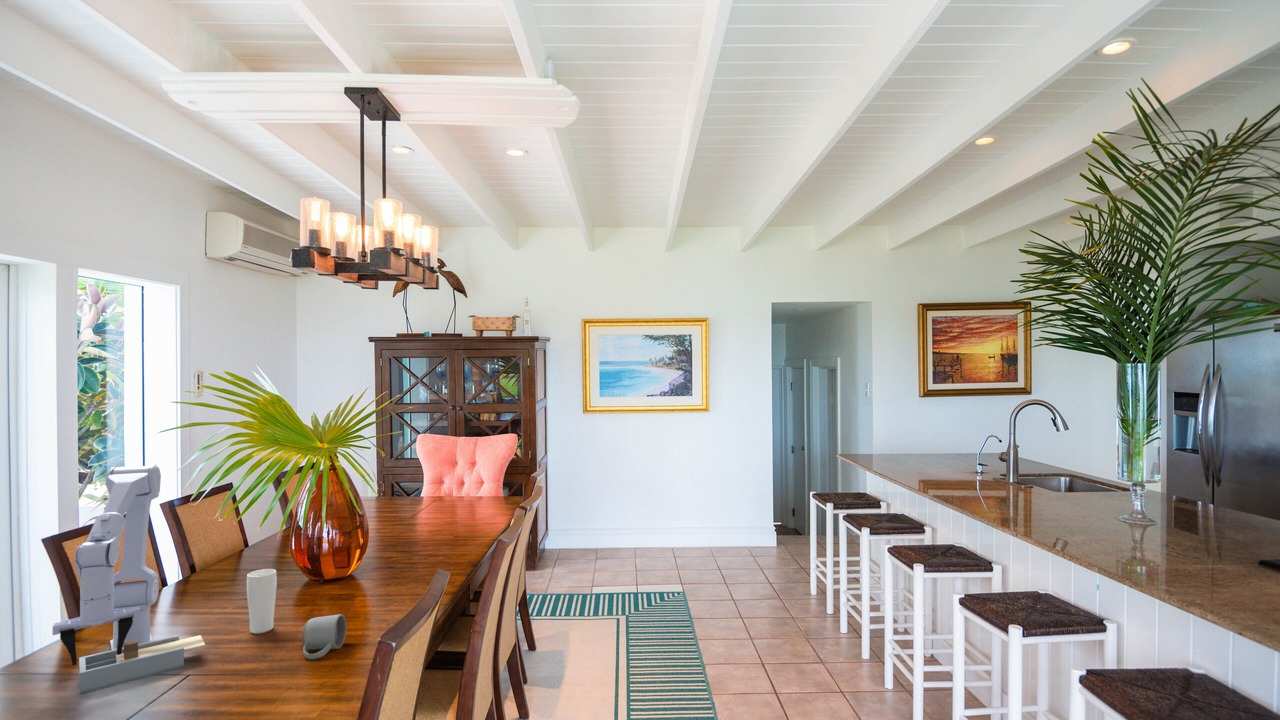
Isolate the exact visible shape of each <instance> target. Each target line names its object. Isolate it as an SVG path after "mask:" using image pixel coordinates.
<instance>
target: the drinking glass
mask: <svg viewBox="0 0 1280 720" xmlns="http://www.w3.org/2000/svg"><path fill="white" fill-rule="evenodd" d="M277 583H278V580H277V570H276V569H274V568H263V569H258V570H253V571H250V572H249V573H247V575H246V599H247V607H248V620H249V632H250V633H252V634H256V635H257V634H263V633H268V632H270V631H271V630H272V629H274V626H275V625H274V621H275V620H274V619H275V606H276V596H277Z"/></svg>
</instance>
